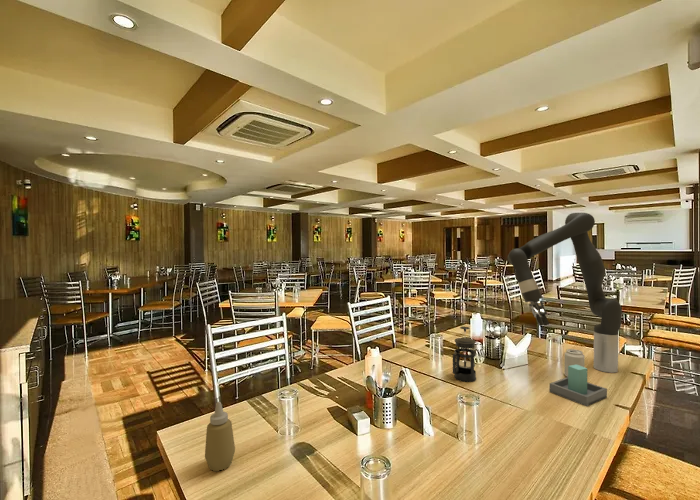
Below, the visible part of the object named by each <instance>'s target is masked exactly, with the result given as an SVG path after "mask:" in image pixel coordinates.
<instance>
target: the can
mask: <svg viewBox="0 0 700 500" xmlns="http://www.w3.org/2000/svg"><path fill="white" fill-rule="evenodd" d="M563 360H564V365H563V366H564V367H563V369H564V372H563V373H564V375H565V376H566V377H568V366H571V365H579V366H582V367H585V360H586V359H585V354H584V352H583V351H582V350H580V349H575V348H568V349H566V351H565V352H564V359H563ZM566 377H565V378H566Z"/></svg>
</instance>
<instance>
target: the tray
mask: <svg viewBox="0 0 700 500" xmlns="http://www.w3.org/2000/svg"><path fill="white" fill-rule="evenodd" d="M549 393H551V394H553V395H554V394H555V395H556V396H559V397H562V398H564V399H567V400H569V401H571V402H575V403H577V404H579V405H582V406H583V407H589V406H592V405H594V404H596V403H598V402H600V401H603V400H605V399H607V398H608V388H606V387H603V386H600V385H597V384H593V383H590V382H588V381H587V394H580V393H577V392H575V391H572V390H569V389H568V377H563V378H561V379H560V378H559V379H557V380H556V381H553V382H550V383H549Z"/></svg>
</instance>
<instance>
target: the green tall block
mask: <svg viewBox="0 0 700 500" xmlns="http://www.w3.org/2000/svg"><path fill="white" fill-rule="evenodd" d="M587 382H588V368H587V367H585V366H584V367H582V366H579V365H571V366H568V389H569V390H572V391H575V392H577V393H580V394H587Z"/></svg>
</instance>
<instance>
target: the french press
mask: <svg viewBox="0 0 700 500" xmlns="http://www.w3.org/2000/svg"><path fill="white" fill-rule="evenodd" d="M459 329H461V330H463V332H464V333H466V332H467V330H470V329H471V328H470V327H469V326H466V325H465V326H460V327H459ZM454 342H455V346H456V347H458V348H455V349H454V353H452V374H454V375H453V377H454V379H455V380H456V381H458V382H461V383H473V382H476V381H477V374H476V373H477V372H476V370H475V367H476V363H475V357H476V355H477V353H476V350H473V348H475V344H476V342H477V341H476V340H475V339H473V338H468V337H457V338H455V339H454ZM461 352H465V353H467V352H468V353H470V354H462V353H461ZM460 358H463V359H464V360H461V359H460ZM466 359H470V361H469V360H466Z"/></svg>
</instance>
